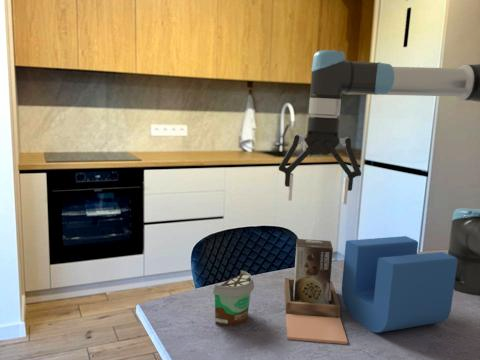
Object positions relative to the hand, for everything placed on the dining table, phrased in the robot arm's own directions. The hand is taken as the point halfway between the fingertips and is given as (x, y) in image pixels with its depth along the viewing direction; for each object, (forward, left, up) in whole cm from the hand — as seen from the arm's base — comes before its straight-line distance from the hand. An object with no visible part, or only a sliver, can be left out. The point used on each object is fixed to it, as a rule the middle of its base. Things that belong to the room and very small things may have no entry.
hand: (316, 201), depth 116 cm
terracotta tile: (0, +15, -27) cm, 31 cm away
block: (-20, +6, -27) cm, 34 cm away
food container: (+18, +14, -27) cm, 35 cm away
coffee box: (0, +1, -27) cm, 27 cm away
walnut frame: (0, +1, -27) cm, 27 cm away
